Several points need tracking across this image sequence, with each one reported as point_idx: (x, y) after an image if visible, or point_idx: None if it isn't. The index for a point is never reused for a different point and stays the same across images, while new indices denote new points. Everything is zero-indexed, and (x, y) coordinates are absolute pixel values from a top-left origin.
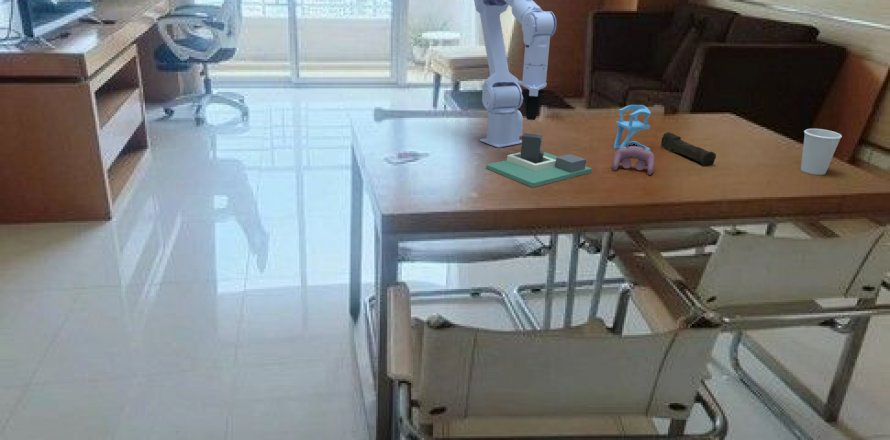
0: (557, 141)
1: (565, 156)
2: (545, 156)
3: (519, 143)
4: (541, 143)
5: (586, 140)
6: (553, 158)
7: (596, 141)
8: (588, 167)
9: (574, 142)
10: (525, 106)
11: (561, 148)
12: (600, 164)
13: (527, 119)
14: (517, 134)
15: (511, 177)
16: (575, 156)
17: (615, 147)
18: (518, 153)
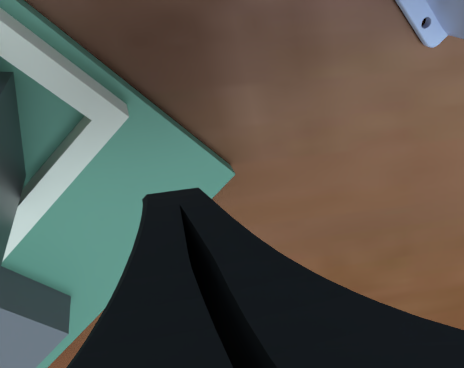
0: (447, 191)
1: (8, 324)
2: (38, 218)
3: (411, 25)
4: (4, 244)
5: (453, 278)
6: (132, 226)
7: (440, 305)
8: (51, 361)
9: (431, 248)
10: (118, 282)
11: (352, 218)
12: None
13: (144, 201)
14: (461, 16)
15: None
16: (35, 357)
17: None
18: (23, 56)
